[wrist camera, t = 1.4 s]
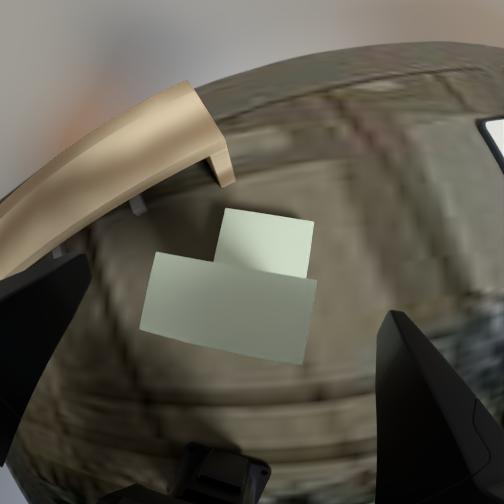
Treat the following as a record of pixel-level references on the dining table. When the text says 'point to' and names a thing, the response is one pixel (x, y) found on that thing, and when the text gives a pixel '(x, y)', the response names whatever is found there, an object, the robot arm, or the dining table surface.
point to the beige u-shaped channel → (109, 174)
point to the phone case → (494, 138)
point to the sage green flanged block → (239, 290)
